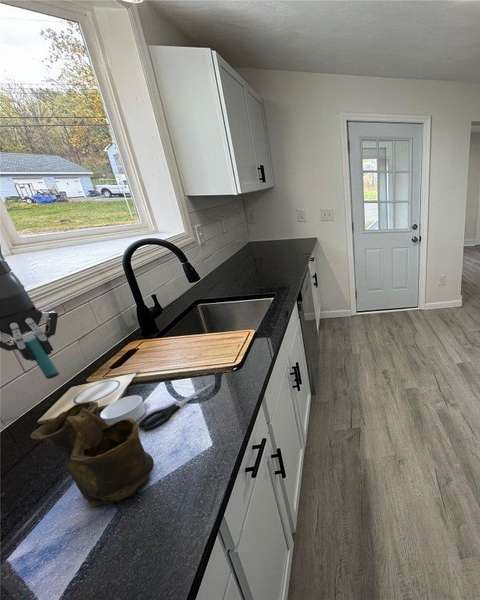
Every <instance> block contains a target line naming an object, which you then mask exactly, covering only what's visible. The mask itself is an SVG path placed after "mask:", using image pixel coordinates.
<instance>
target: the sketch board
mask: <svg viewBox="0 0 480 600" xmlns="http://www.w3.org/2000/svg"><path fill="white" fill-rule="evenodd" d="M136 375H137V372H134V373H130V374H124V375H120V376H115V377H111V378H107V379H102V380H97V381H93V382H89V383H83V384H79V385H75V386H71V387H70V388H69V389H67V391H66V392H65V393H64V394H63V395H61V397H60V398H59V399H58V400H57V401H56V402H55V403H54V404H53V405H52V406H51V407H50V408H49V409H48V410H47V411H46V412H45V413H44V414H43V415H42V416H41V417H40V418H39V419H38V420H37V421H36V423H37V424H38V425H44V424H45V422H46V421H47V420H48V421H51V420H53V419H55V418H56V417H57V416H58V415H59V414H61V413H62V412H64V411H67V410H69V409H70V408H72V407H73V406H74V405H76V404H79V403H83V402H88V401H93V402H97V403H98V408H97V409H98V411H100V410H104V409H105V408H106V407H107V406H109V405H110V404H112V403H113V402H115V401H117V400H120V399H122V398H124V396H125V394H126V393H127V391H128V390H129V388H127V387H128V385H130V383H131V381H132V380H133V379H134V378H135V376H136Z"/></svg>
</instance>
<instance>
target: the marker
mask: <svg viewBox="0 0 480 600" xmlns="http://www.w3.org/2000/svg"><path fill="white" fill-rule="evenodd" d="M23 341H24V343H25V346H26V347H28V348H29V349H30V351H31V353H32V354H33V356H34V357H35V359H36V360H34V361H35V363H36V364H37V366H38V368H39V369H40V371H41V372H42V374H43V376H44V377H45V378H46V379H47V380H50V379H53V378H56V377H58V376H59V375H60V372H59V371H58V369H57V368H56V365H55V364H54V363H53V361H52V359H51V358H50V355H47V353H46V351H45V350H44V348H43V347H42V345H41V343H40V342H39V340H38V338H37V337H35V336H34V337H30V338H27V339H25V340H23Z"/></svg>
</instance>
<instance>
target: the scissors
mask: <svg viewBox="0 0 480 600" xmlns="http://www.w3.org/2000/svg"><path fill="white" fill-rule="evenodd" d="M214 384H215V381H213V382H211V383H210V384H208V385H206V386H204V387H202V388H201V389H199V390H197V391H196V392H194V393H192V394H191V395H189V396H187V397H186V398H184V399H182V400H181V401H179V402H178V403H177V404H176V403H173V404H172V405H170V406H168V407H164V408H162V409H158V410H155V411H152V412H151V413H149V414H147V415H146V416H145V417H144V418H143V419H142V420H140V422H139V423H138V428H139V429H143V431H145V432H149V431H153V430H156V429H157V428H159V427H161V426H163V425H165V424H166V423H167V422H169V421H170V419H171V418H172V416H173V415H174V414H175V413H176V412H177V411H179V410H180V409H181V406H183V405H185V404H186V403H188V402H189V401H190V400H193V398H195V397H196V396H198V395H200V394H201V393H203V392H204V391H206V390H207V389H209V388H210V387H211V386H213V385H214ZM154 416H155V417H154ZM165 417H166V418H165ZM163 418H164V419H163ZM149 419H150V420H149ZM159 421H160V422H159Z"/></svg>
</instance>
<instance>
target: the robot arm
mask: <svg viewBox="0 0 480 600" xmlns="http://www.w3.org/2000/svg"><path fill="white" fill-rule="evenodd" d="M42 317H43V320H45V328H44V332H43V330H42V329H41V328H40V327H39V325H40V322H41V319H42ZM58 319H59V314H58V313H57V312H56V311H52V310H51V311H50V310H49V311H42V310H40V309H38V308H37V307H36V305H35V304H34V302H33V300H32V299H31V297H30V295H29V294H28V292H27V290H26V289H25V286H24V284H22V282H21V280H20V279H19V278H18V277H17V275H16V274H15V273H14V271H12V268H11V267H10V265H9V263H8V262H7V260H6V259H5V257H4V255H3V253H2V245H1V244H0V333H2V334H6V335H8V336H9V338H10V340H11V342H12V343H7V342H5V341H2V340H0V349H3V350H5V351H7V352H11V351H15V350H17V351H18V353H19V354H20V355H21V357H22V358H23V359H24V360H26V361H30V362H34V361H35V360H36V359H35V357H34V356H33V354H32V353H31V351H30V349H29V348H28V347H26V346H25V343H24V341H25V340H24V337H23V334H25V333H28V332H30V333H31V334H32V335H33V337H34V338H35V337H37V338H38V340H39V342H40V343H41V345H42V347H43V348H44V350H45V351H46V353H47V355H48V356H50V355H52V354H53V352H54V347H53V346H52V344H51V343H50V341H49V339H50V338H51V337H52V336H55V335H56V332H57V325H58Z"/></svg>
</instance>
